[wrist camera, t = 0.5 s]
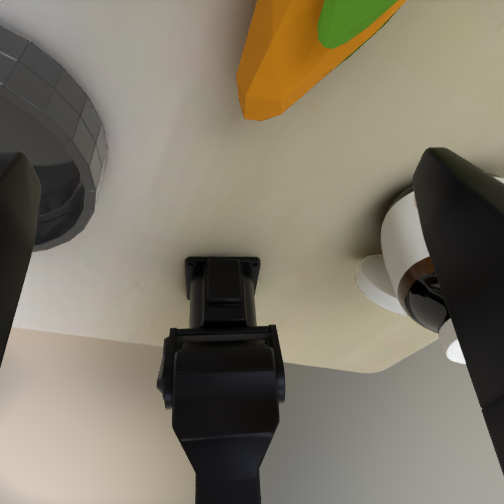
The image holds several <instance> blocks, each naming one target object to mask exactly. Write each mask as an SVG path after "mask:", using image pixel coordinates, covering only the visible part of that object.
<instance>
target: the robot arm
mask: <svg viewBox="0 0 504 504" xmlns="http://www.w3.org/2000/svg"><path fill="white" fill-rule="evenodd" d="M412 185H413V190H414V195H415V200H416V205H417V210H418V214H419V219H420V224H421V229H422V233H423V237H424V241H425V244H426V247H427V250H428V253H429V256H430V259H431V262H432V265H433V268H434V271H435V274H436V277H437V280H438V282H439V285H440V288H441V291H442V294H443V297H444V300H445V303H446V306H447V309H448V312H449V315H450V318H451V321H452V324H453V327H454V330H455V333H456V336H457V339H458V342H459V344H460V347H461V350H462V353H463V356H464V359H465V362H466V365H467V368H468V371H469V374H470V377H471V380H472V383H473V386H474V389H475V392H476V395H477V398H478V400H479V404H480V406H481V408H483V409H482V413H483V416H484V419H485V422H486V425H487V428H488V431H489V434H490V437H491V439H492V443H493V446H494V449H495V452H496V454H497V457H498V460H499V463H500V466H501V469H502V472H503V475H504V183H502V182H501V181H499V180H497V179H496V178H494V177H493V176H491V175H489V174H488V173H486V172H484V171H483V170H481V169H480V168H478V167H476V166H475V165H473V164H471V163H470V162H468V161H467V160H465V159H463V158H462V157H460V156H458V155H457V154H455V153H454V152H452V151H450V150H449V149H447V148H444V147H436V148H428V149H426V150H425V151H424V153H423V155H422V157H421V160H420V162H419V164H418V166H417V168H416V171H415V173H414V175H413V180H412ZM40 196H41V184H40V181H39V178H38V176H37V174H36V172H35V170H34V168H33V166H32V164H31V162H30V160H29V158H28V156H27V155H26V154H25V153H24V152H22V151H5V152H2V153H0V367H1V363H2V359H3V356H4V352H5V348H6V345H7V341H8V338H9V334H10V330H11V327H12V323H13V320H14V316H15V312H16V309H17V305H18V302H19V298H20V294H21V291H22V287H23V284H24V280H25V276H26V273H27V269H28V265H29V262H30V258H31V254H32V250H33V245H34V240H35V232H36V225H37V218H38V210H39V203H40ZM185 268H186V286H187V299H188V300H190V321H189V329H177V328H170V334H169V337H167V338H165V339H164V349H163V358H162V363H161V367H160V371H159V375H158V379H157V388H158V390H159V391H160V392H161V393H162V394H163V399H164V401H165V408H166V409H167V410H168V409H172V427H173V430H174V432H175V434H176V436H177V438H178V439H179V441H180V443H181V445H182V447H183V449H184V451H185V453H186V455H187V457H188V459H189V461H190V463H191V465H192V466H193V469H194V471H195V473H196V494H195V495H196V496H195V497H196V498H195V504H261V495H260V479H259V467H260V465H261V463H262V461H263V458H264V456H265V454H266V451H267V449H268V447H269V444H270V442H271V440H272V438H273V435H274V433H275V431H276V428H277V426H278V424H279V404H282V403H284V400H285V374H284V365H283V360H282V355H281V349H280V344H279V339H278V334H277V329H276V325H269V326H257V323H256V311H255V299H254V295H255V290H256V285H257V280H258V275H259V270H260V259H259V258H255V257H189V258H187V259H186V260H185Z"/></svg>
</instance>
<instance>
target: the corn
mask: <svg viewBox="0 0 504 504" xmlns="http://www.w3.org/2000/svg"><path fill="white" fill-rule="evenodd" d="M405 1H406V0H257V3H256V6H255V10H254V13H253V17H252V21H251V24H250V28H249V31H248V35H247V39H246V42H245V46H244V49H243V53H242V57H241V60H240V64H239V67H238V71H237V75H236V81H237V88H238V95H239V102H240V106H241V109H242V113H243V116H244V119H250V120H257V121H263V120H265V119H268V118H271V117H274V116H277V115H280V114H282V113H283V112H284V111H285V110H287V109H288V108H289V107H290V106H291V105H292V104H294V103H295V102H296V101H297V100H298V99H299V98H301V97H302V96H303V95H304V94H305V93H306V92H307V91H309V90H310V89H311V88H312V87H313V86H314V85H316V84H317V83H318V82H319V81H320V80H321V79H322V78H324V77H325V76H326V75H327V74H328V73H329V72H331V71H332V70H333V69H334V68H335V67H337V66H338V65H339V64H341V63H342V62H343V61H345V60H346V59H347V58H349V57H350V56H351V55H352V54H353V53H354V52H355V51H356V50H358V49H359V48H360V47H361V46H362V45H363V44H364V43H365V42H366V41H367V40H369V39H370V38H371V37H372V36H373V35H374V34H375V33H376V32H377V31H378V30H379V29H381V28H382V27H383V26H384V25H385V24H386V23H387V22H388V20H389V19H390V18H391V17H392V16H393V15H394V14H395V12H396V11H397V10H398V9H399V8H400V7H401V6H402V5H403V4H404V2H405Z"/></svg>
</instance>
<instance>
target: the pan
mask: <svg viewBox="0 0 504 504" xmlns="http://www.w3.org/2000/svg"><path fill="white" fill-rule="evenodd" d="M5 151H22V152H24V153H25V154H26V155H27V156H28V158H29V160H30V162H31V164H32V166H33V168H34V170H35V172H36V174H37V176H38V178H39V181H40V184H41V196H40V203H39V210H38V218H37V225H36V232H35V240H34V245H33V250H32V252H36V251H42V250H47V249H50V248H53V247H56V246H58V245H61V244H63V243H66V242H68V241H70V240H71V239H72V238H74V237H75V236H76V235H77V234H79V233H80V232H81V231H82V230H84V228H85V227H86V225H87V224H88V222H89V220H90V218H91V217H92V215H93V213H94V211H95V206H96V202H97V198H98V194H99V190H100V186H101V182H102V178H103V174H104V169H105V163H106V154H107V143H106V139H105V134H104V130H103V125H102V122H101V120H100V118H99V116H98V114H97V113H96V111H95V109H94V107H93V105H92V103H91V101H90V99H89V98H88V96H87V95H86V93H85V92H84V91H83V90H82V89H81V87H80V86H79V85H78V84H77V83H76V82H75V80H74V79H73V78H72V77H71V76H70V75H69V74H68V72H67V71H66V70H65V69H64V68H63V67H62V66H61V65H60V64H59V63H57V62H56V61H55V60H54V59H52V58H51V57H50V56H48V55H47V54H46V53H45V52H43V51H42V50H41V49H40V48H38V47H37V46H36V45H34V44H33V43H32V42H29V41H28V40H26V39H25V38H23V37H21V36H19V35H17V34H15V33H13V32H11V31H10V30H8V29H6V28H4V27H2V26H0V153H2V152H5Z"/></svg>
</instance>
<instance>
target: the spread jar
mask: <svg viewBox="0 0 504 504" xmlns="http://www.w3.org/2000/svg"><path fill="white" fill-rule="evenodd" d="M488 174H489V175H491V176H493V177H494V178H496V179H497V180H499V181H501V182H502V183H504V178H502V177H500V176H497V175H494V174H490V173H488ZM381 249H382V254H383V255H381V254H377V255H370V256H367V257H365V258H364V259H363V260H362V261H361V263H360V266H359V268H358V271H357V273H356V277H355V280H356V283H357V286H358V287H359V289H360V290H361V291H362V293H363V294H364V295H365V296H366V297H368V298H369V299H370V300H371V301H373V302H374V303H375V304H377V305H379V306H381V307H382V308H384V309H387V310H389V311H391V312H394V313H397V314H400V315H405V316H409V317H410V318H411V319H413V320H414V321H415V322H416V323H418V324H419V325H421V326H423V327H425V328H426V329H429V330H431V331H433V332H436V333H438V334H439V338H440V340H441V343H442V346H443V348H444V351H445V353H446V356H447V358H449V359H450V360H452V361H454V362H457V363H462V364H466V362H465V359H464V356H463V353H462V350H461V347H460V344H459V342H458V339H457V336H456V333H455V330H454V327H453V324H452V321H451V318H450V315H449V312H448V309H447V306H446V303H445V300H444V297H443V294H442V291H441V288H440V285H439V282H438V280H437V277H436V274H435V271H434V268H433V265H432V262H431V259H430V256H429V253H428V250H427V247H426V244H425V241H424V237H423V233H422V229H421V224H420V219H419V214H418V210H417V205H416V200H415V195H414V190H413V185H412V186H410V187H409V188H407V189H406V190H405V191H403V192H402V193H401V194H400V195H399V196H398V197H397V198H396V199H395V200H394V201H393V203H392V204H391V205H390V207H389V209H388V210H387V212H386V215H385V217H384V220H383V224H382V228H381Z"/></svg>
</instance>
